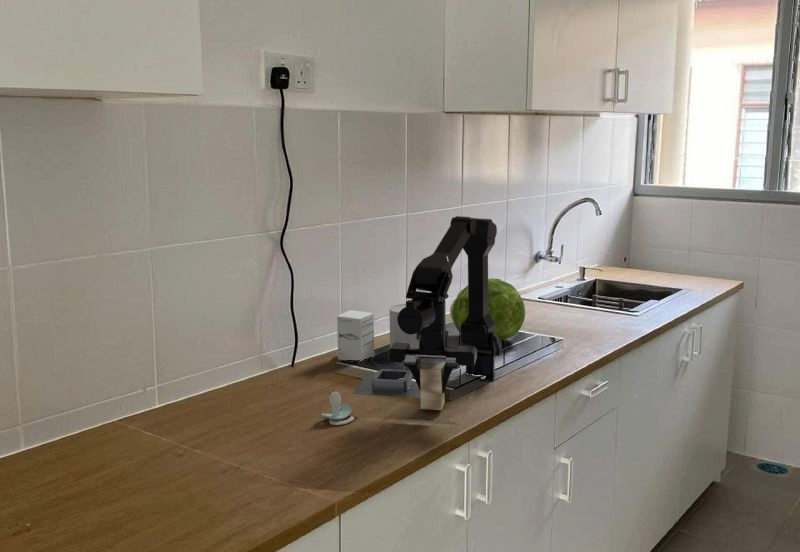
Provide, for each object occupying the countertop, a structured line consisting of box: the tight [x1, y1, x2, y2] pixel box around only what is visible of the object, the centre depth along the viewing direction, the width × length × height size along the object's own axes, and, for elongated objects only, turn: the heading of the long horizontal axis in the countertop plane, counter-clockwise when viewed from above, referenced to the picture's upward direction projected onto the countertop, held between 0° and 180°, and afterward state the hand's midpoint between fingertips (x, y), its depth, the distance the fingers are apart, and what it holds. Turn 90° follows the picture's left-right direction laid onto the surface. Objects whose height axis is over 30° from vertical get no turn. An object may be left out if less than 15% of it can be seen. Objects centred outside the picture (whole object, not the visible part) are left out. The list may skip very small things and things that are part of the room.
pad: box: [402, 418, 456, 426], centre depth 177 cm, size 11×11×1 cm
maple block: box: [420, 362, 445, 411], centre depth 176 cm, size 4×4×9 cm
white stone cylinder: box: [388, 303, 419, 349], centre depth 220 cm, size 10×10×12 cm
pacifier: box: [320, 391, 356, 426], centre depth 173 cm, size 7×6×6 cm
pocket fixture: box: [351, 368, 421, 399], centre depth 192 cm, size 16×14×3 cm
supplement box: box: [336, 309, 375, 361], centre depth 213 cm, size 7×7×13 cm
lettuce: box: [449, 277, 526, 342], centre depth 228 cm, size 19×23×18 cm
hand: (432, 391), depth 176 cm, fingers closed on maple block, 4 cm apart
